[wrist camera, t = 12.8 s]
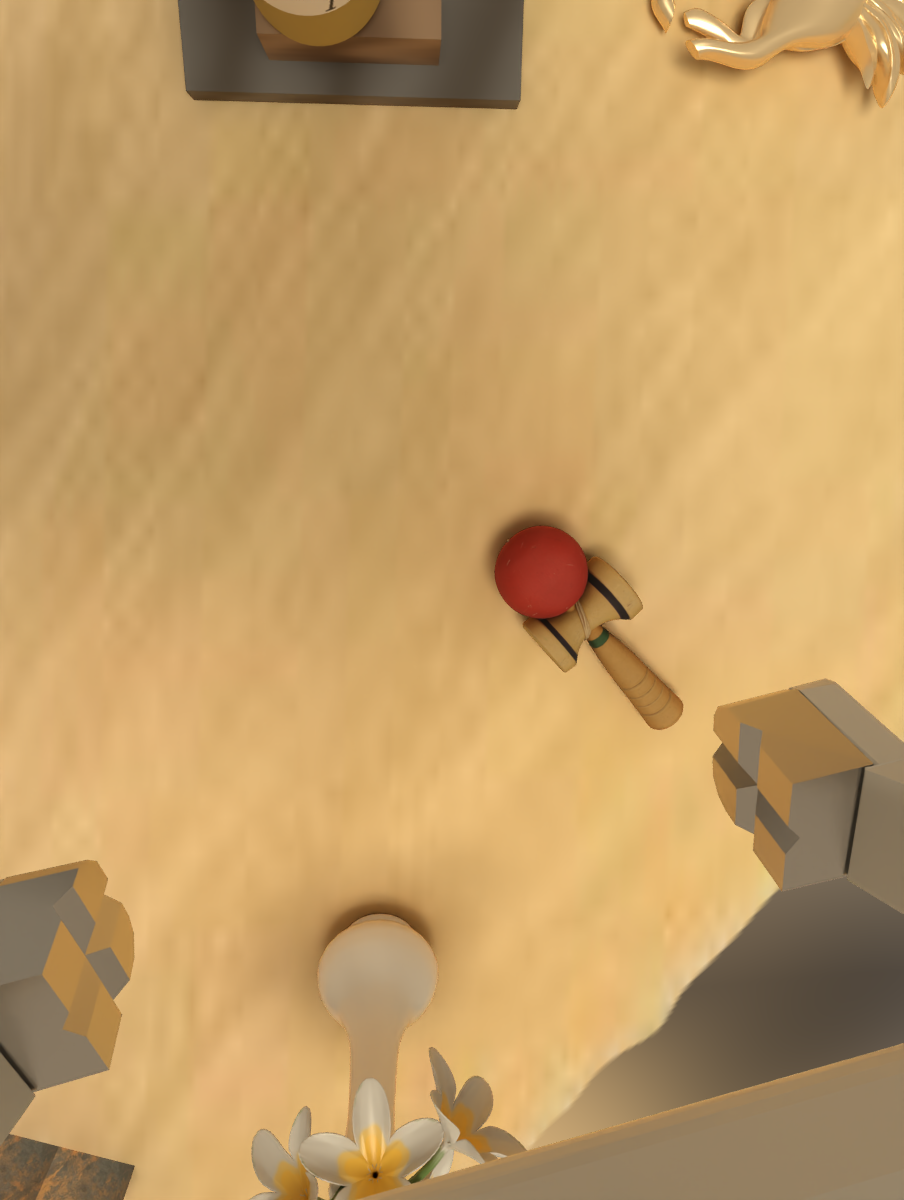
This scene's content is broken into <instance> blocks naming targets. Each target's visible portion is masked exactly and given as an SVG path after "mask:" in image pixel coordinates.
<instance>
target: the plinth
mask: <svg viewBox="0 0 904 1200" xmlns="http://www.w3.org/2000/svg"><path fill="white" fill-rule="evenodd" d="M178 6H179V17H180V28H181V39H182V50H183V61H184V72H185V84H186V91H187V92H188V93H189V95H190V96H191V97H192V98H193V99H194V100H220V101H255V102H290V103H325V104H359V105H394V106H429V107H464V108H499V109H517V107H518V105H519V102H520V96H521V66H522V36H523V6H524V0H380V2H379V4H378V6H377V9H376V10H375V12H374V14H373V16H372V17H371V18H370V20H369V21H368V22H367V24H366V25H365V26H364V27H363V28H362V29H361V30H360V31H359V32H358V33H356V34H355V35H353V36H352V37H351V38H349V39H347V40H345V41H343V42H340V43H338V44H334V45H329V46H310V45H306V44H302V43H299V42H296V41H294V40H292V39H290V38H288V37H286V36H285V35H283V34H282V33H281V32H279V31H278V30H277V29H276V28H274V27H273V26H272V25H271V24H270V23H269V22H268V21H267V19H266V18H265V17H264V16H263V15H262V13H261V12H260V10H259V9H258V7H257V6H256V4H255V2H254V0H178Z"/></svg>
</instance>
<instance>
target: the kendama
mask: <svg viewBox="0 0 904 1200" xmlns="http://www.w3.org/2000/svg"><path fill="white" fill-rule="evenodd" d="M495 580H496V585H497V588H498V590H499V592H500V594H501V596H502V598H503V599H504V600H505V602H506V603H507V604H508V605H509V606H510V607H511V608H512V609H514V610H515V611H517V612H518V613H520V614H522V615H525V616H528V617H529V618H528V619H527V620H526V621H525V622H524V623H523V628H524V629H525V630H526V631H527V632H528V634H529V635H530V636H531V637H532V638H533V639H534V640H535V641H536V642H537V643H538V645H539V646H540V647H541V648H542V649H543V650H544V651H545V652H546V653H547V655H548V656H549V657H550V658H551V659H552V660H553V661H554V662H555V664H557V666H558V667H559V668H560V669H561V670H562V671H563V672H567V671H568V670H570V669H571V668H572V667H574V666H575V665H576V663H577V656H578V651H579V648H580V646H581V644H582V642H583V640H586V639H587V640H588V642H589V644H590V646H591V647H592V649H593V650H594V652H595V653H596V655H597V656H598V658H599V660H600V661H601V663H602V664H603V666H604V667H605V668H606V670H607V671H608V673H609V674H610V675H611V677H612V678H613V679H614V681H615V682H616V683H617V684H618V686H619V687H620V688H621V690H622V691H623V692H624V693H625V694H626V696H627V697H628V698H629V700H630V701H631V702H632V704H633V705H634V706H635V708H636V709H637V710H638V711H639V713H640V714H641V716H642V717H643V719H644V720H645V721H646V723H647V724H648V725H649V726H650V727H651V728H653V729H657V730H662V729H666V728H668V727H670V726H672V725H673V724H674V723H676V722H677V721H678V719H679V718H680V716H681V715H682V712H683V703H682V701H681V700H680V698H679V697H678V696H676V695H675V694H674V693H673V692H672V691H671V690H670V689H669V688H667V686H666V685H665V684H664V683H662V682H661V681H660V680H659V679H658V678H657V677H656V676H655V675H654V674H653V673H652V672H651V671H650V670H649V669H648V667H647V666H645V665H644V664H643V662H642V661H641V660H640V659H639V658H638V657H637V656H636V655H635V654H634V653H633V652H631V651H630V650H629V649H628V648H627V647H626V646H625V645H624V644H623V643H621V642H620V641H619V640H618V639H617V638H615V637H614V636H613V635H612V634H611V633H609V632H608V631H607V630H606V629H604V628H603V627H602V626H601V624H603V623H605V622H608V621H612V620H618V619H629V620H631V619H632V618H633V617H634V616H636V615H637V614H638V613H639V612H640V611H641V610H642V609H643V605H642V602H641V600H640V599H639V597H638V596H637V594H636V593H635V592H634V590H633V589H632V588H631V587H630V586H629V584H628V583H627V582H626V581H625V580H624V579H623V578H622V576H620V575H619V574H618V572H617V571H616V570H615V569H613V568H612V567H611V566H610V565H609V564H608V563H606V562H605V561H604V560H602V559H601V558H599V557H592V558H591V559H590V560H589V561H588V562H587V561H586V557H585V554H584V552H583V550H582V548H581V547H580V545H579V544H578V543H577V542H576V541H575V540H574V539H573V538H572V537H571V536H570V535H568V534H567V533H565V532H564V531H562V530H559V529H557V528H554V527H549V526H534V527H530V528H527V529H524V530H522V531H520V532H518V533H517V534H515V535H514V536H513V537H512V538H511V539H507V542H506V544H505V545H504V546H503V548H502V549H501V551H500V553H499V555H498V558H497V561H496V565H495Z"/></svg>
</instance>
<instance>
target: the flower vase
mask: <svg viewBox="0 0 904 1200" xmlns="http://www.w3.org/2000/svg"><path fill="white" fill-rule="evenodd" d="M437 981H438V966H437V959H436V957H435V955H434V952H433V950H432V948H431V946H430V945H429V943H428V942H427V941H426V940H425V939H424V938H423V937H422V936H421V935H420V934H419V933H418V932H416V931H415V930H413V929H412V928H411V927H410V926H409V924H408V923H407V922H405V921H404V920H402V919H400V918H399V917H396V916H393V915H389V914H371V915H368V916H365V917H362V918H360V919H358V920H357V921H355V922H353V923H352V924H351V925H350V926H349V927H348V928H347V929H345V930H344V931H342V932H340V933H339V934H338V935H337V936H336V937H335V938H334V939H333V940H332V941H331V942H330V943H329V944H328V945H327V947H326V949H325V951H324V953H323V954H322V956H321V958H320V960H319V966H318V971H317V982H318V988H319V994H320V998H321V1001H322V1002H323V1004H324V1006H325V1008H326V1010H327V1012H328V1013H329V1014H330V1016H331V1017H332V1018H333V1019H334V1020H335V1021H336V1022H337V1023H338V1024H339V1025H340V1026H342V1027H343V1028H345V1030H346V1033H347V1036H348V1039H349V1045H350V1084H349V1107H348V1119H347V1127H346V1134H345V1136H343V1135H340V1134H336V1133H328V1132H325V1133H317V1134H313V1135H311V1112H310V1109H309V1108H308V1107H307V1106H305V1107H303V1108H302V1109H301V1111H300V1112H299V1113H298V1115H297V1117H296V1119H295V1121H294V1123H293V1126H292V1129H291V1132H290V1137H289V1151H290V1153H291V1156H292V1157H291V1156H290V1155H289V1154H288V1153H287V1152H286V1150H285V1149H284V1148H283V1147H282V1145H281V1144H280V1142H279V1141H278V1139H277V1138H276V1137H275V1136H274V1135H273V1134H272V1133H271V1132H270V1131H268V1130H265V1129H261V1130H259V1131H258V1132H257V1134H256V1135H255V1137H254V1139H253V1142H252V1162H253V1167H254V1170H255V1173H256V1175H257V1177H258V1179H259V1180H260V1182H261V1183H262V1184H263V1185H264V1186H265V1187H267V1188H268V1189H270V1190H272V1191H274V1192H267V1193H260V1194H258V1195H256V1196H254V1197H252V1198H251V1199H249V1200H324V1199H322V1198H320V1197H317V1196H318V1183H317V1180H316V1178H315V1177H317V1178H319V1179H321V1180H324V1181H327V1182H329V1188H328V1192H329V1198H330V1200H357V1199H361V1198H364V1197H367V1196H371V1195H374V1194H378V1193H381V1192H385V1191H388V1190H392V1189H395V1188H399V1187H402V1186H406V1185H409V1184H413V1183H416V1182H420V1181H421V1180H422V1181H423V1180H427V1179H430V1178H434V1177H437V1176H441V1175H444V1174H448V1173H449V1171H450V1168H451V1165H452V1161H453V1155H454V1150H455V1151H458V1152H460V1153H463V1154H465V1155H467V1156H469V1157H470V1158H472V1159H474V1160H476V1161H477V1162H479V1163H480V1164H483V1163H486V1162H490V1161H493V1160H497V1159H498V1158H497V1157H501V1158H504V1157H507V1156H511V1155H514V1154H518V1153H521V1152H525V1151H527V1150H526V1149H525V1148H524V1146H523V1145H522V1144H521V1143H520V1142H519V1141H518V1140H517V1139H516V1138H514V1137H513V1136H512V1135H511V1134H509V1133H507V1132H506V1131H504V1130H502V1129H500V1128H497V1127H493V1126H488V1127H485V1128H482V1129H480V1130H478V1129H479V1128H480V1127H481V1126H482V1125H483V1124H484V1123H485V1122H486V1121H487V1119H488V1117H489V1116H490V1114H491V1111H492V1107H493V1095H492V1091H491V1088H490V1086H489V1084H488V1083H487V1082H486V1081H485V1080H484V1079H483V1078H481V1077H479V1076H473V1077H471V1078H469V1079H468V1080H467V1081H466V1082H465V1084H464V1085H463V1087H462V1089H461V1091H460V1092H459V1094H458V1096H457V1098H456V1099H455V1094H456V1084H455V1080H454V1077H453V1075H452V1072H451V1070H450V1068H449V1066H448V1065H447V1063H446V1061H445V1060H444V1059H443V1057H442V1056H441V1055H440V1054H439V1052H438V1051H437V1050H436V1049H435V1048H433V1047H431V1048H429V1057H430V1062H431V1066H432V1071H433V1076H434V1080H435V1085H436V1090H437V1091H436V1090H432V1091H431V1094H430V1096H431V1099H432V1101H433V1104H434V1106H435V1108H436V1110H437V1113H438V1115H439V1120H440V1122H439V1121H438V1120H435V1119H433V1118H420V1119H416V1120H413V1121H411V1122H408V1123H407V1124H405V1125H403V1126H402V1127H400V1128H399V1129H398V1130H396V1131H395V1093H396V1075H397V1061H398V1052H399V1046H400V1042H401V1039H402V1036H403V1034H404V1032H405V1030H406V1028H408V1027H409V1026H411V1025H412V1024H413V1023H414V1022H415V1021H416V1020H417V1019H419V1018H420V1017H421V1016H422V1015H423V1014H424V1012H425V1011H426V1009H427V1008H428V1006H429V1004H430V1003H431V1001H432V999H433V997H434V994H435V990H436V985H437ZM454 1099H455V1101H454ZM453 1103H454V1104H453ZM477 1130H478V1131H477ZM442 1140H443V1142H442ZM425 1163H426V1164H425ZM424 1164H425V1165H424ZM423 1165H424V1166H423ZM421 1166H423V1167H422V1168H421V1169H420V1170H419V1171H418V1172H417V1173H416V1174H415V1175H414V1176H412V1177H411V1178H410V1179H409V1180H406V1176H407V1175H409V1174H411V1173H412V1172H414V1171H415V1170H417V1169H419V1168H420V1167H421Z"/></svg>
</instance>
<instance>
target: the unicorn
mask: <svg viewBox="0 0 904 1200" xmlns="http://www.w3.org/2000/svg"><path fill="white" fill-rule="evenodd" d="M651 6H652V10H653V13H654V15H655V16H656V18H657V20H658V21H659V23H660V24H661V26H662V27H663V29H664V31H665V33H666V32H667V30H668V28H669V26H670V24H671V21H672V17H673V14H674V9H675V2H674V0H651ZM684 22H685V26H686V27H688V28H690V29H692V30H694V31H696V32H698V33H700V34H702V35H704V36H705V37H706V38H697V39H692V40H688V41H686V43H685V44H686V47H687V49H688V50H689V52H690V53H691V55H692V56H693V57H694V58H695V59H696V60H709V61H713V62H716V63H719V64H722V65H725V66H728V67H732V68H736V69H741V70H751V69H755V68H758V67H760V66H762V65H763V64H765V63H766V62H767V61H769V60H770V59H772V58H773V57H774V56H776V55H777V54H778V53H780V52H781V51H783V50H789V51H797V52H806V51H813V50H818V49H824V48H828V47H832V46H836V45H838V44H840V43H841V44H842V46H843V48H844V50H845V52H846V54H847V55H848V57H849V59H850V60H851V61H852V63H853V64H854V65H855V66H856V67H857V68H858V69H859V70H860V72H861V74H862V78H863V81H864V84H865V87H866V88H867V89H869V88H870V86H871V84H872V86H873V92H874V96H875V98H876V101H877V103H878V105H879V107H881V108H883V107H884V106H885V105H886V104H887V103H888V101H889V100H890V98H891V96H892V94H893V92H894V90H895V88H896V85H897V82H898V78H899V73H900V74H902V75H904V2H903V1H902V0H754V1H753V2H752V3H751V4H750V5H749V6H748V8H747V10H746V12H745V15H744V18H743V22H742V28H741V33H740V35H738V34H736V33H735V32H734V31H733V30H732V29H731V28H730V27H729V26H727V25H726V24H725V23H724V22H722V21H721V20H719V19H718V18H716V17H715V16H713V15H712V14H710V13H708V12H706V11H705V10H702V9H699V8H694V9H691V10H688V11H686V12H684Z"/></svg>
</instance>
